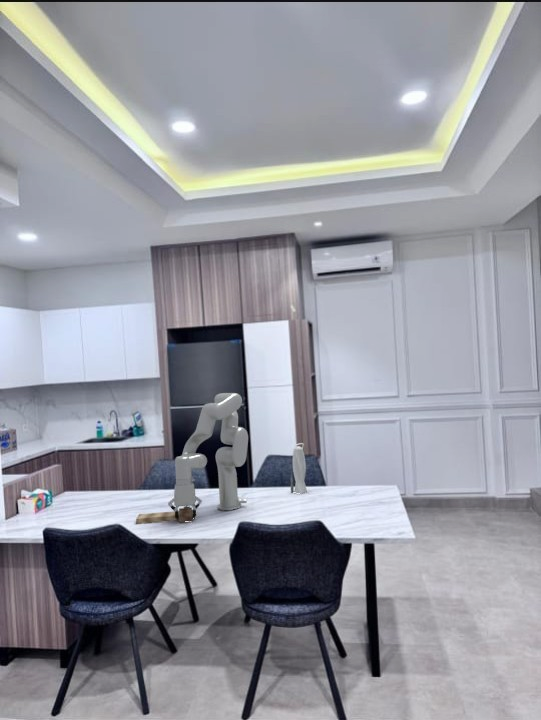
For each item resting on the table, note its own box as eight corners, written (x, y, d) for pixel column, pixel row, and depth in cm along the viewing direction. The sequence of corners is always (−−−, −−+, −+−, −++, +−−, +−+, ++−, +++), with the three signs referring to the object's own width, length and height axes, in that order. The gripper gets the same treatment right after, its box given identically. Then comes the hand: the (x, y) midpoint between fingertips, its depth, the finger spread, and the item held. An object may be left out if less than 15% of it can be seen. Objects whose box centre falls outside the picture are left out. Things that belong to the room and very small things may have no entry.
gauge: (193, 515, 243) (192, 501, 243) (192, 522, 232) (191, 507, 232) (181, 516, 243) (180, 502, 243) (179, 523, 232) (178, 508, 232)
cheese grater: (300, 490, 284) (298, 442, 285) (310, 492, 278) (307, 443, 278) (290, 493, 278) (287, 444, 279) (299, 495, 272) (296, 445, 273)
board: (195, 514, 245) (195, 509, 245) (194, 519, 237) (194, 514, 237) (139, 519, 242) (139, 514, 242) (136, 524, 234) (136, 518, 234)
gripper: (202, 478, 239) (204, 514, 238) (166, 481, 237) (168, 517, 237) (201, 482, 232) (203, 519, 231) (164, 484, 230) (166, 522, 229)
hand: (185, 518), depth 234 cm, fingers open, 7 cm apart
